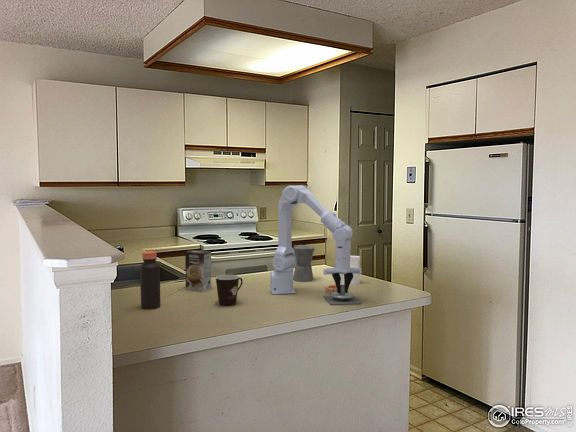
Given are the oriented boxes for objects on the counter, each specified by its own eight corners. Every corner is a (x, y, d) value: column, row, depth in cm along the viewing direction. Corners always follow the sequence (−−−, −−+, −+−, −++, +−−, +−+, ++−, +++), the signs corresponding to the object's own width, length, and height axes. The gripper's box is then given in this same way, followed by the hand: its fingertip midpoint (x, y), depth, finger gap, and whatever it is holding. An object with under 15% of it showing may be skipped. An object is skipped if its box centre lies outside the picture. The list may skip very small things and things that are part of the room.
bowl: (328, 295, 182) (328, 289, 182) (323, 291, 189) (323, 285, 189) (346, 295, 183) (346, 288, 183) (341, 290, 190) (341, 284, 190)
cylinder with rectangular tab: (336, 283, 202) (337, 257, 201) (342, 279, 210) (342, 253, 209) (356, 285, 199) (357, 258, 198) (361, 281, 207) (362, 255, 206)
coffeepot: (321, 280, 208) (321, 241, 206) (306, 283, 202) (307, 243, 200) (296, 275, 219) (297, 237, 217) (282, 278, 213) (282, 239, 211)
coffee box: (184, 289, 190) (184, 251, 189) (193, 286, 196) (193, 249, 195) (203, 292, 187) (203, 253, 186) (212, 288, 193) (211, 250, 191)
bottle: (138, 306, 166) (136, 251, 164) (156, 303, 170) (155, 250, 169) (144, 310, 161) (143, 254, 159) (163, 307, 165) (162, 252, 163)
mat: (330, 305, 168) (330, 304, 168) (323, 296, 180) (323, 295, 180) (362, 304, 170) (362, 303, 170) (352, 295, 182) (352, 294, 182)
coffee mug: (220, 308, 164) (220, 280, 164) (212, 302, 172) (212, 276, 171) (250, 304, 170) (250, 277, 169) (241, 298, 177) (241, 273, 176)
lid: (334, 299, 170) (334, 288, 170) (328, 293, 179) (329, 282, 178) (356, 298, 172) (356, 287, 171) (349, 292, 180) (349, 282, 179)
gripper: (326, 259, 169) (326, 295, 170) (364, 258, 171) (363, 294, 172) (322, 256, 176) (321, 291, 177) (358, 255, 178) (358, 289, 179)
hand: (342, 292), depth 175 cm, fingers closed on lid, 2 cm apart
